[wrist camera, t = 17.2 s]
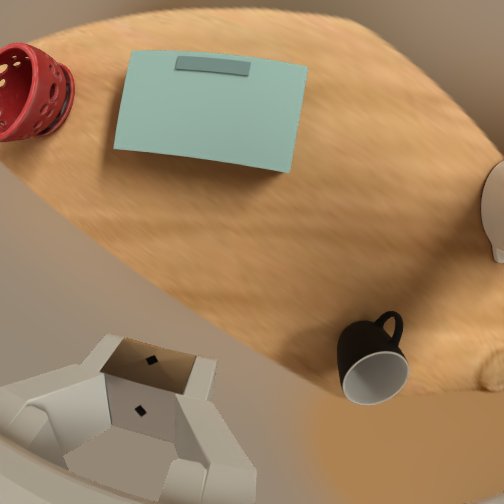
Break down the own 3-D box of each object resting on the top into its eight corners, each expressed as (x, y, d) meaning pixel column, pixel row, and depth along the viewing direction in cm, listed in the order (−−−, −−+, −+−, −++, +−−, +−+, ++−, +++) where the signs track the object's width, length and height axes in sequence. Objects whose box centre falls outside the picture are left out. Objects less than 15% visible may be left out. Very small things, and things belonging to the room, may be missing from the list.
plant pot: (62, 153, 40) (8, 158, 29) (12, 123, 39) (-39, 124, 27) (100, 71, 36) (51, 53, 25) (44, 49, 35) (-5, 34, 24)
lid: (307, 69, 31) (308, 65, 30) (288, 173, 34) (289, 173, 33) (135, 53, 31) (131, 50, 30) (117, 148, 34) (112, 148, 33)
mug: (367, 369, 47) (382, 411, 38) (319, 352, 47) (328, 396, 37) (409, 307, 44) (436, 343, 34) (361, 285, 43) (382, 320, 34)
